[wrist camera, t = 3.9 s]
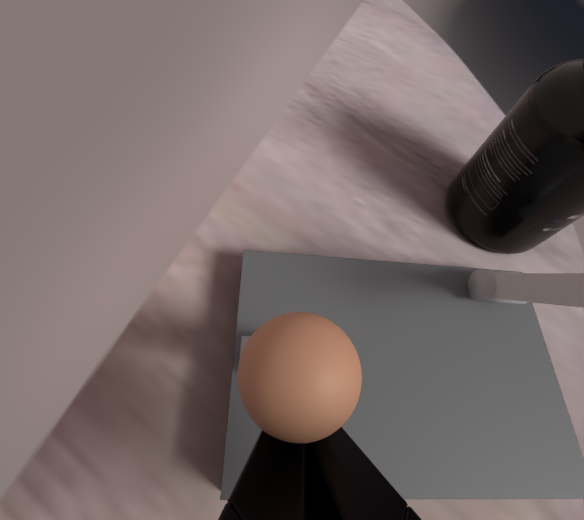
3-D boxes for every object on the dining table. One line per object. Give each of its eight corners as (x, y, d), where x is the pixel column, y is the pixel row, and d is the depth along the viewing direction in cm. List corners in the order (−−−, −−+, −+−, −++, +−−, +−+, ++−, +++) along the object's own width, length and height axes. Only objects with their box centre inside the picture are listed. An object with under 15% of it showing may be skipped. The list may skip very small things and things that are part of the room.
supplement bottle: (536, 273, 22) (814, 119, 11) (434, 232, 22) (611, 46, 12) (538, 197, 25) (757, 21, 14) (450, 162, 25) (600, -33, 15)
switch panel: (557, 492, 16) (596, 498, 14) (222, 492, 14) (220, 499, 12) (498, 285, 21) (521, 272, 19) (243, 267, 19) (243, 249, 17)
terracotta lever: (294, 384, 15) (389, 463, 5) (238, 382, 14) (221, 461, 5) (296, 332, 15) (386, 309, 5) (242, 329, 15) (235, 300, 5)
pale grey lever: (508, 308, 18) (833, 351, 8) (466, 305, 18) (747, 346, 8) (510, 267, 18) (831, 257, 8) (468, 263, 18) (748, 250, 8)
